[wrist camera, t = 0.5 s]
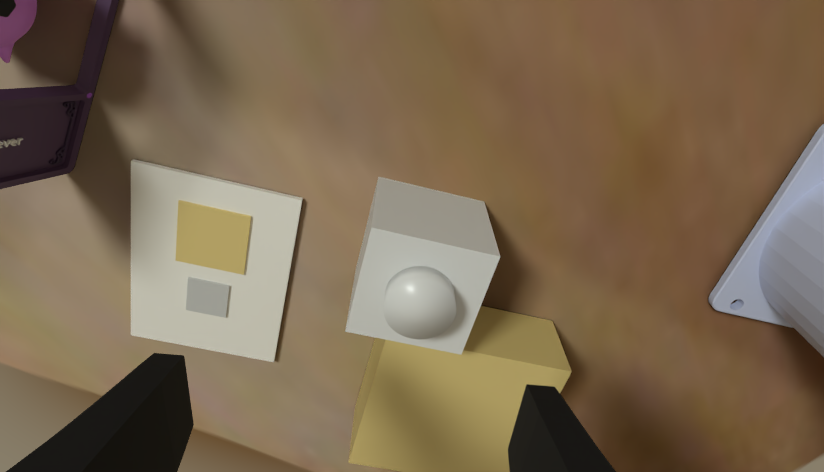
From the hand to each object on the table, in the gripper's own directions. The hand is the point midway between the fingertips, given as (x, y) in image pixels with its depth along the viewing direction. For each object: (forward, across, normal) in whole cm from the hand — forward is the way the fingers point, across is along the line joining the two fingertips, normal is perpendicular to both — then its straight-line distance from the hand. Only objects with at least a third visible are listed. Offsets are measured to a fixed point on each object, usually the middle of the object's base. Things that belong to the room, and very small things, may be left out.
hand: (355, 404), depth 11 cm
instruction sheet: (+9, +6, +3) cm, 12 cm away
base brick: (+9, -4, +7) cm, 12 cm away
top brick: (+10, -2, +1) cm, 10 cm away
